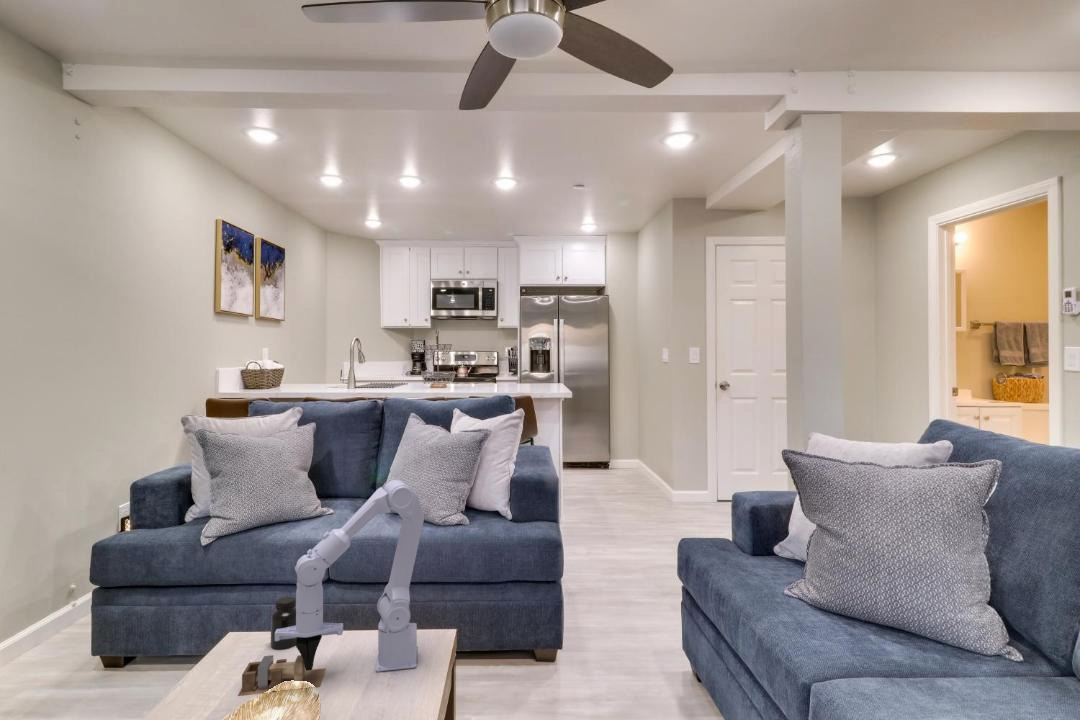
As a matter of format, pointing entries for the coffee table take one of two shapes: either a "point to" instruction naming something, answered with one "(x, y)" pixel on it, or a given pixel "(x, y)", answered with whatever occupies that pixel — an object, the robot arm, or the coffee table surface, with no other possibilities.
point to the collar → (264, 672)
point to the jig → (274, 678)
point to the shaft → (290, 669)
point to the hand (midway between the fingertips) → (309, 668)
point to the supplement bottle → (283, 622)
